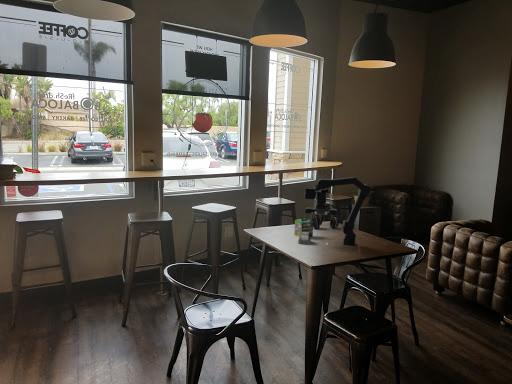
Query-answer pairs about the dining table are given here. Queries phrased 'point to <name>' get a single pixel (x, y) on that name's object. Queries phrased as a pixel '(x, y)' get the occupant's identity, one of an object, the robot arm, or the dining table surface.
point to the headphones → (333, 222)
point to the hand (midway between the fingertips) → (320, 225)
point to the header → (304, 241)
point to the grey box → (304, 235)
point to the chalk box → (303, 226)
